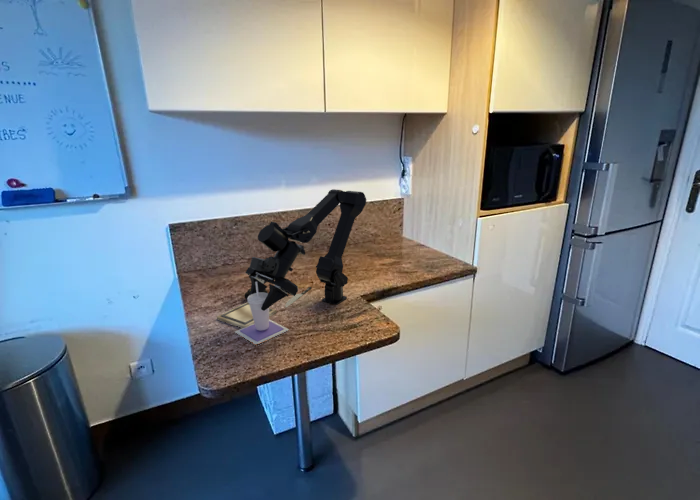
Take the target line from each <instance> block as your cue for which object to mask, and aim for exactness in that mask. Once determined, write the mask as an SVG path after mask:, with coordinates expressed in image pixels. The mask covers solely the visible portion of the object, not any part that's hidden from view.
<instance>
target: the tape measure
mask: <svg viewBox="0 0 700 500" xmlns="http://www.w3.org/2000/svg"><path fill="white" fill-rule="evenodd" d="M250 290H251V287H250V288H248V290H247V291H246V292H245V293H244V300H247V298H248V296H249V295H250ZM263 292H265V293H268V290H267V288H266V289H265V290H264V291H263ZM247 301H248V300H247Z"/></svg>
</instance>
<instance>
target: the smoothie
mask: <svg viewBox="0 0 700 500" xmlns="http://www.w3.org/2000/svg"><path fill="white" fill-rule="evenodd" d="M255 284H256V292H257V293H254V294H251V295H250V296H248V298H247V302H248V303H249V305H250V309H251V312H252V316H253V320H254V323H255V327H256V329H257V330H265V329H267V328H268V327H269V319H270V317H269V308H270V307H269V308H267V309H266V310H265V311H263V310H261V307H262V305H263V303H264V301H265V299H266V297H267V295H268V293H269V292H267V293H265V292H258V284H257V281H256V282H255ZM247 302H246V303H247Z"/></svg>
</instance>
